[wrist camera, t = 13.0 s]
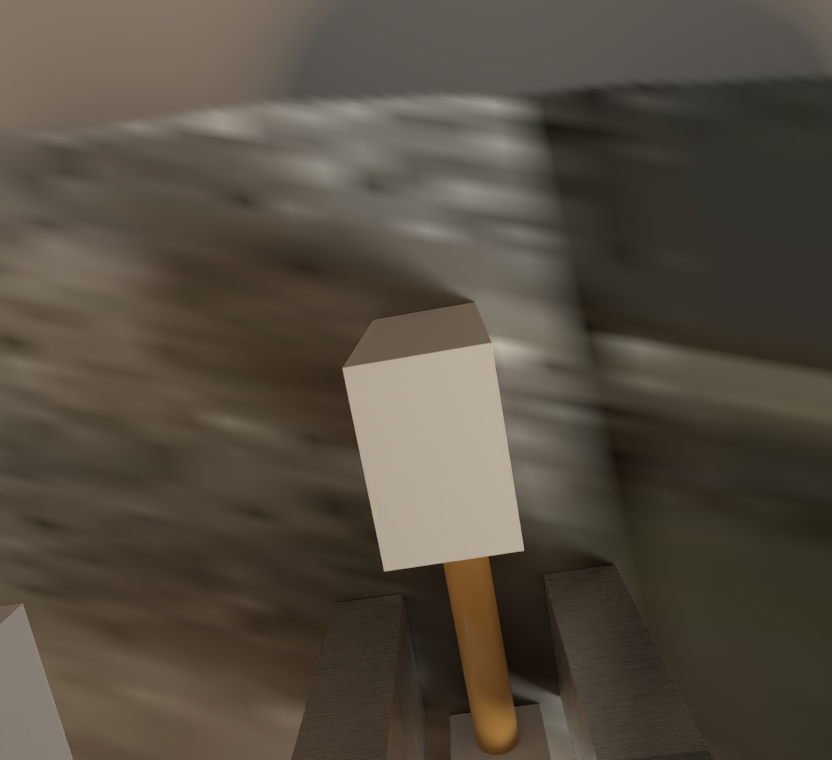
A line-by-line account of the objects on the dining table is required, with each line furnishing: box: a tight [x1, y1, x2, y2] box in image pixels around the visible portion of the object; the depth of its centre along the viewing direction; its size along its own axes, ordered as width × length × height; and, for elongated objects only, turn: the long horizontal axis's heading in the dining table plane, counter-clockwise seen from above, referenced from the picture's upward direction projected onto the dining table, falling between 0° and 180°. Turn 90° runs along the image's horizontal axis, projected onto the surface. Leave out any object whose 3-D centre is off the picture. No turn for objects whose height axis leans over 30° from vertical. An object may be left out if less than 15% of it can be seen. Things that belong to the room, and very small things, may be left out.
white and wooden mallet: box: [342, 302, 551, 760], centre depth 25 cm, size 21×4×9 cm, turn 10°
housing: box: [291, 565, 713, 760], centre depth 25 cm, size 6×12×12 cm, turn 100°
